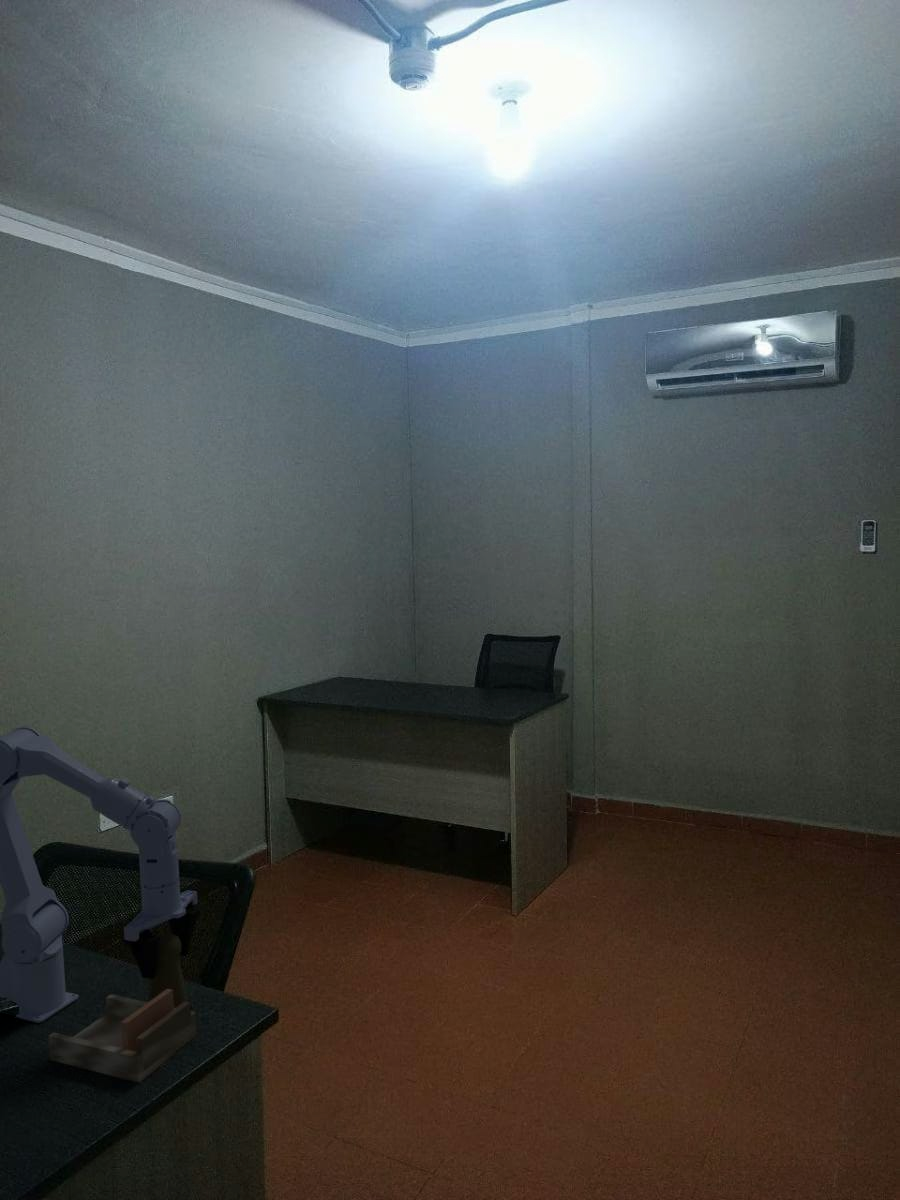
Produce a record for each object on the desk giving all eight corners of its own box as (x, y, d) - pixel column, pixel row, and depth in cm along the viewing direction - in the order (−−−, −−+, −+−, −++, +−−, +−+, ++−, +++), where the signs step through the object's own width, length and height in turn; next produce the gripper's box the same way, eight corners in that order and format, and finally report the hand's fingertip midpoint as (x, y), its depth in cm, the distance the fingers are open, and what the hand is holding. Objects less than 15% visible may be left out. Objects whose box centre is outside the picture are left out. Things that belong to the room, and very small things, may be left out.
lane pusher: (123, 1063, 121) (120, 1021, 120) (169, 1027, 129) (167, 988, 129) (129, 1064, 120) (126, 1023, 120) (175, 1028, 129) (172, 989, 128)
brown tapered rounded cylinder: (175, 1016, 134) (171, 947, 134) (139, 1013, 136) (135, 944, 135) (194, 996, 140) (190, 929, 140) (160, 993, 142) (156, 927, 141)
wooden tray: (50, 1059, 124) (47, 1022, 124) (112, 1016, 135) (110, 981, 135) (139, 1082, 118) (136, 1043, 118) (196, 1035, 129) (194, 999, 129)
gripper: (148, 902, 128) (154, 992, 129) (210, 867, 142) (215, 948, 143) (110, 897, 131) (116, 984, 132) (175, 862, 144) (180, 942, 145)
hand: (165, 965), depth 138 cm, fingers open, 7 cm apart
